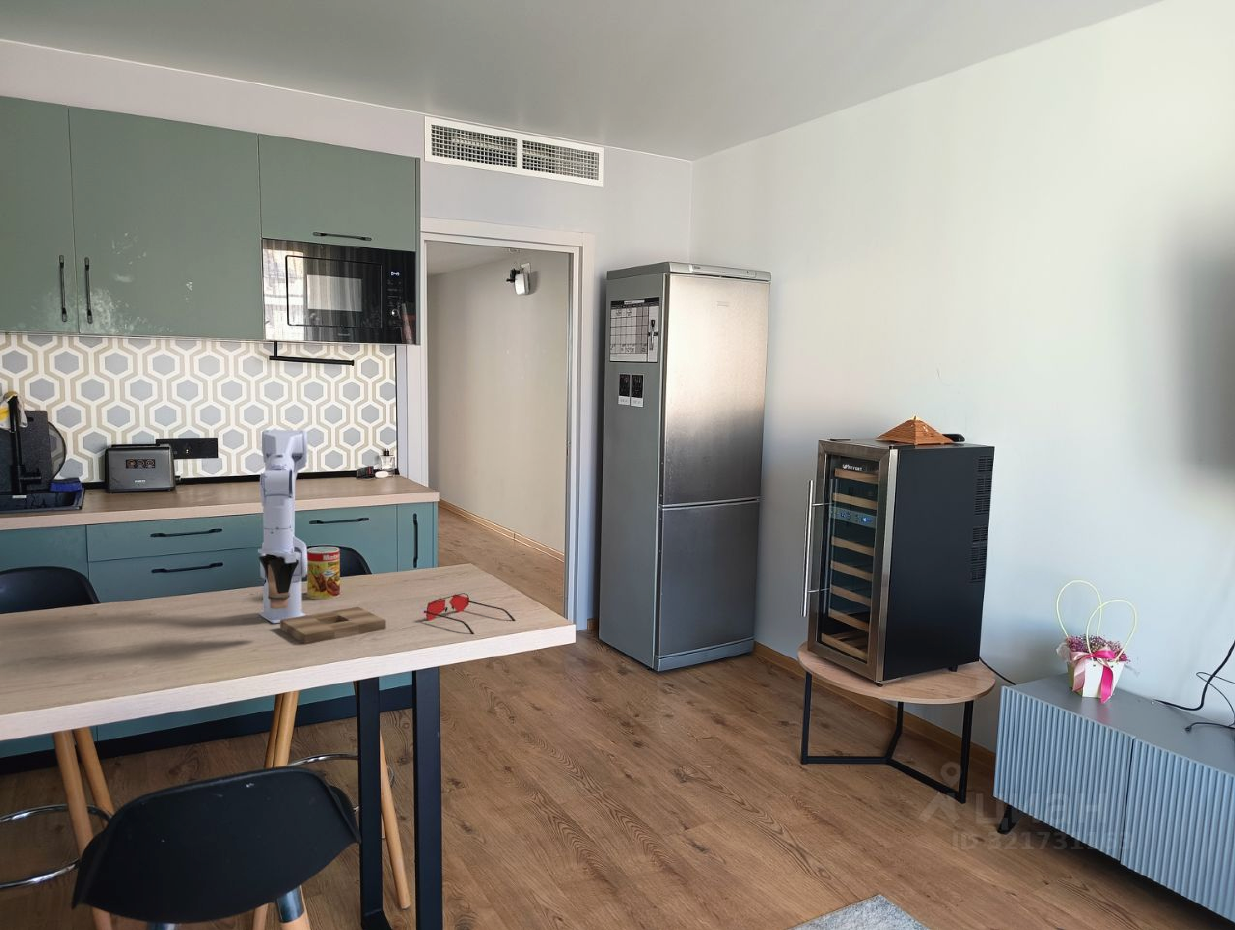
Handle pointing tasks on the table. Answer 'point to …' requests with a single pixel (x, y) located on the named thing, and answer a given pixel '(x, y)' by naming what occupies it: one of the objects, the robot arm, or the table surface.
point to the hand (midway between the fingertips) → (279, 590)
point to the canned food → (323, 573)
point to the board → (332, 624)
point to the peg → (276, 599)
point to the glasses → (457, 603)
